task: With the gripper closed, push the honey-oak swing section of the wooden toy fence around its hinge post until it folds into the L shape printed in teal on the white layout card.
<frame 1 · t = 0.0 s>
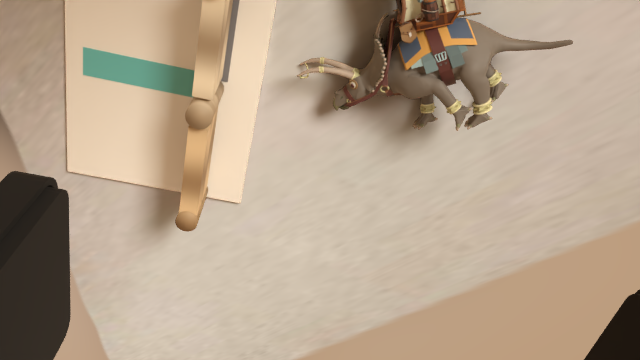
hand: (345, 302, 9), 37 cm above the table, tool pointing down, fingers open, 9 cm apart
figurine: (413, 19, 44), on the table
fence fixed: (213, 86, 46), resting on layout card
layout card: (165, 76, 45), on the table
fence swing: (197, 167, 46), point 4 cm above the table, hinge at 0.0°
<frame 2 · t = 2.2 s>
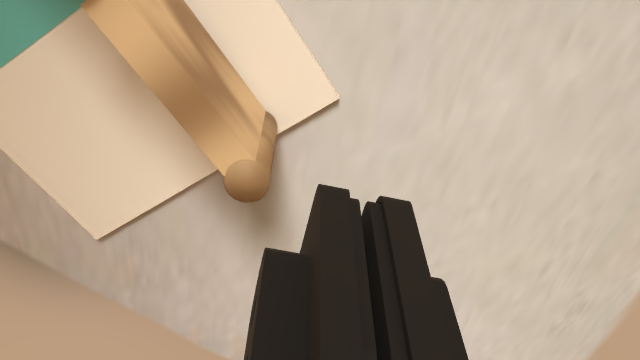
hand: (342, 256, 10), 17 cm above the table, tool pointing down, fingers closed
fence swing: (198, 82, 22), point 4 cm above the table, hinge at 0.0°
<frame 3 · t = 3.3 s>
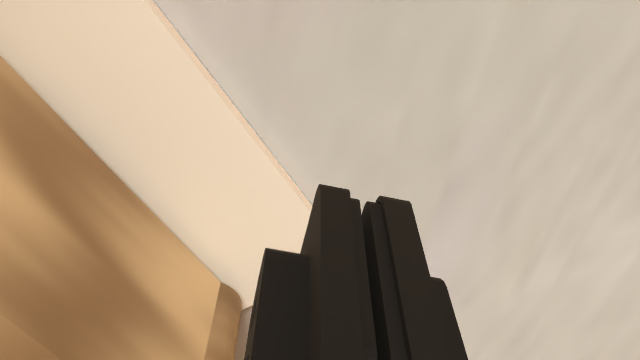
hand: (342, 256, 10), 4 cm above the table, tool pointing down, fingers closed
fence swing: (75, 282, 12), point 3 cm above the table, hinge at 0.0°
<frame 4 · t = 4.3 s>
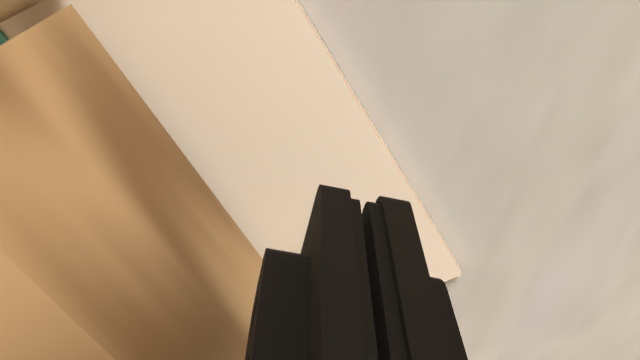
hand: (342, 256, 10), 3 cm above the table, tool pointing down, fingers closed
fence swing: (162, 306, 10), point 4 cm above the table, hinge at -3.2°, touching gripper
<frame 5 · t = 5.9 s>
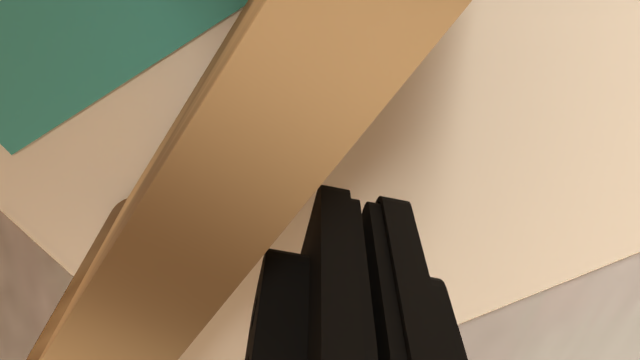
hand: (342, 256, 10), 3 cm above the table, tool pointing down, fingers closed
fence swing: (212, 165, 8), point 3 cm above the table, hinge at -65.8°, touching gripper
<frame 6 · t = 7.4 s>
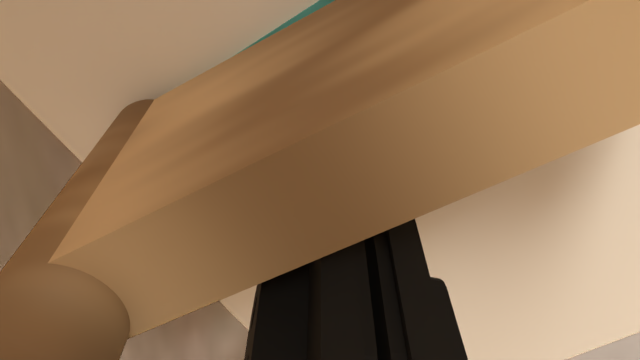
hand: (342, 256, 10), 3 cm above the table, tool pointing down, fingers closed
layout card: (423, 1, 11), on the table
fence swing: (323, 111, 8), point 4 cm above the table, hinge at -94.0°
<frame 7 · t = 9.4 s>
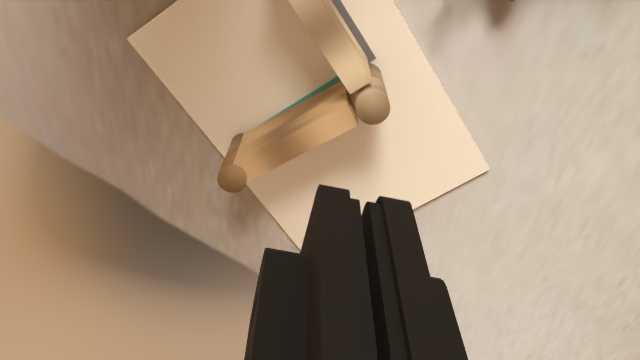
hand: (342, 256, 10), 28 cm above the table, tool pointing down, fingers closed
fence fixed: (366, 75, 37), resting on layout card
layout card: (318, 105, 38), on the table
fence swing: (287, 135, 36), point 3 cm above the table, hinge at -94.0°
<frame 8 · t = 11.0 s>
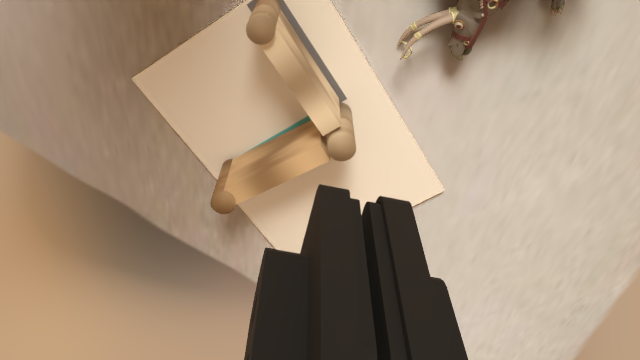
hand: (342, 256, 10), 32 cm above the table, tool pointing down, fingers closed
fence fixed: (339, 111, 43), resting on layout card
layout card: (297, 135, 44), on the table
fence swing: (270, 164, 42), point 3 cm above the table, hinge at -94.0°
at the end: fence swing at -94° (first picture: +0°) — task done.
